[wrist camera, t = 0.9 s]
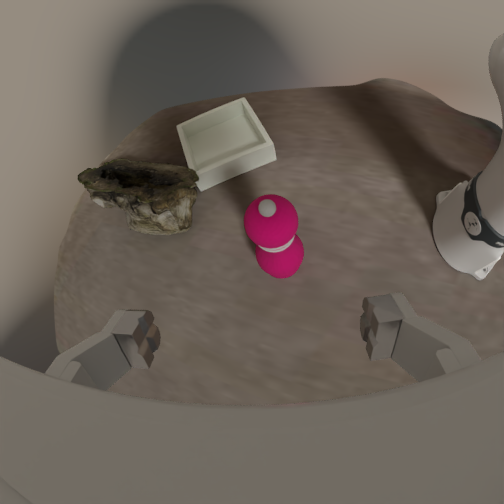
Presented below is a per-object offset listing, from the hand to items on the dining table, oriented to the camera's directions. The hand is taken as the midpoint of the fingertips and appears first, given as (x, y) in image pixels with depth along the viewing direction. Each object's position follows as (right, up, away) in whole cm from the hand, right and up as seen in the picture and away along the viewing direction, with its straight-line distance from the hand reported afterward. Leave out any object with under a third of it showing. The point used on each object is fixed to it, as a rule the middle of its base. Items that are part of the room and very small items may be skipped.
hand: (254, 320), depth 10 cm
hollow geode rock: (-22, +13, +44) cm, 51 cm away
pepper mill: (+5, +1, +35) cm, 36 cm away
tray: (-5, +24, +44) cm, 51 cm away
